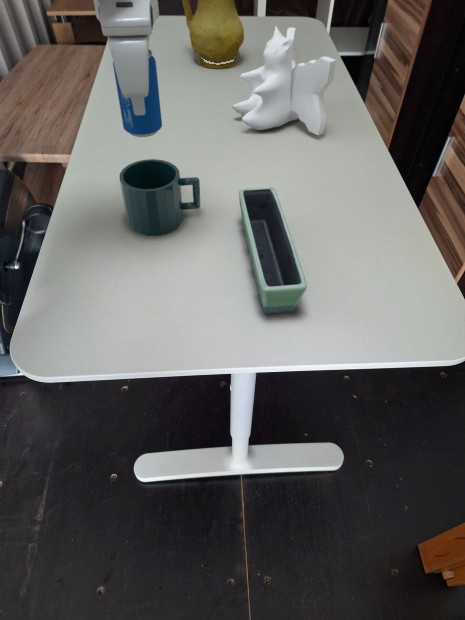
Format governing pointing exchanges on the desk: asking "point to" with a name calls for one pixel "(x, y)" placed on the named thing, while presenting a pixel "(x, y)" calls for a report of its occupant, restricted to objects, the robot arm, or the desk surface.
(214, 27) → the pitcher
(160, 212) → the teal faceted mug
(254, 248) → the planter
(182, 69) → the desk surface
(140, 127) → the beverage can
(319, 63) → the white faceted figurine
